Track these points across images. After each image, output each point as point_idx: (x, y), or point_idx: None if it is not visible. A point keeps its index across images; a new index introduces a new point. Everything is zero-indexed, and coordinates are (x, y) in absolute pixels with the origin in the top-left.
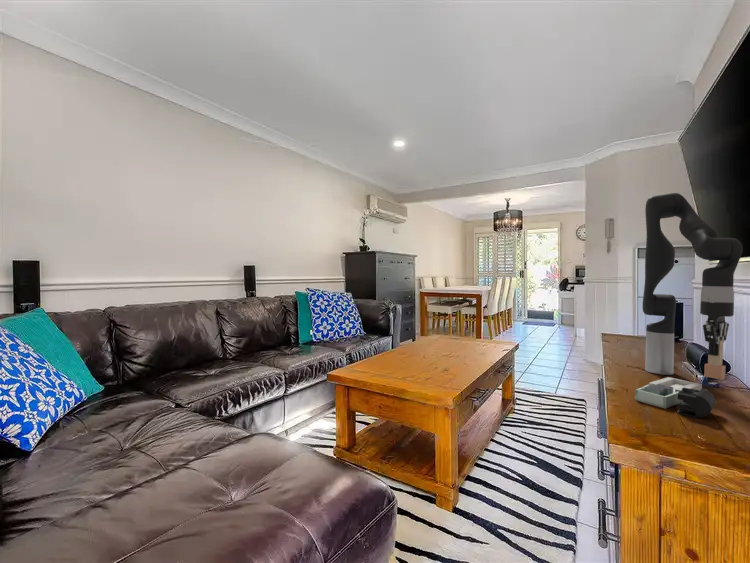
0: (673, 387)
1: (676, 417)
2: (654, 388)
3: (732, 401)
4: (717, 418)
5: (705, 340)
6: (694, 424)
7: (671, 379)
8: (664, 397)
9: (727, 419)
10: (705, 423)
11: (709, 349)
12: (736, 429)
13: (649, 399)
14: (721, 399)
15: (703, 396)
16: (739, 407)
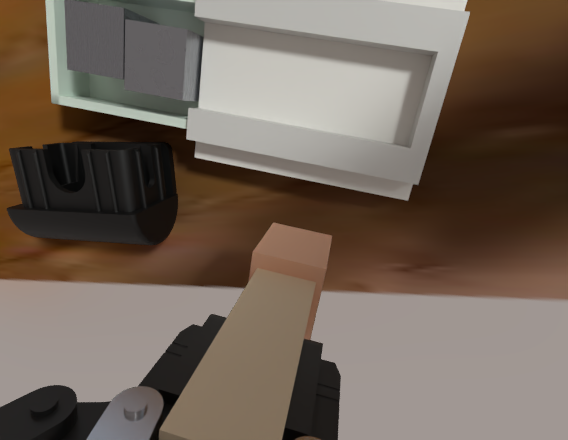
0: (182, 100)
1: (34, 146)
2: (77, 42)
3: (415, 266)
4: None
5: (34, 391)
6: None
7: (407, 44)
8: (52, 97)
9: (153, 254)
10: None
11: (169, 346)
12: (85, 270)
13: None
14: (414, 235)
15: (32, 226)
16: (337, 282)
